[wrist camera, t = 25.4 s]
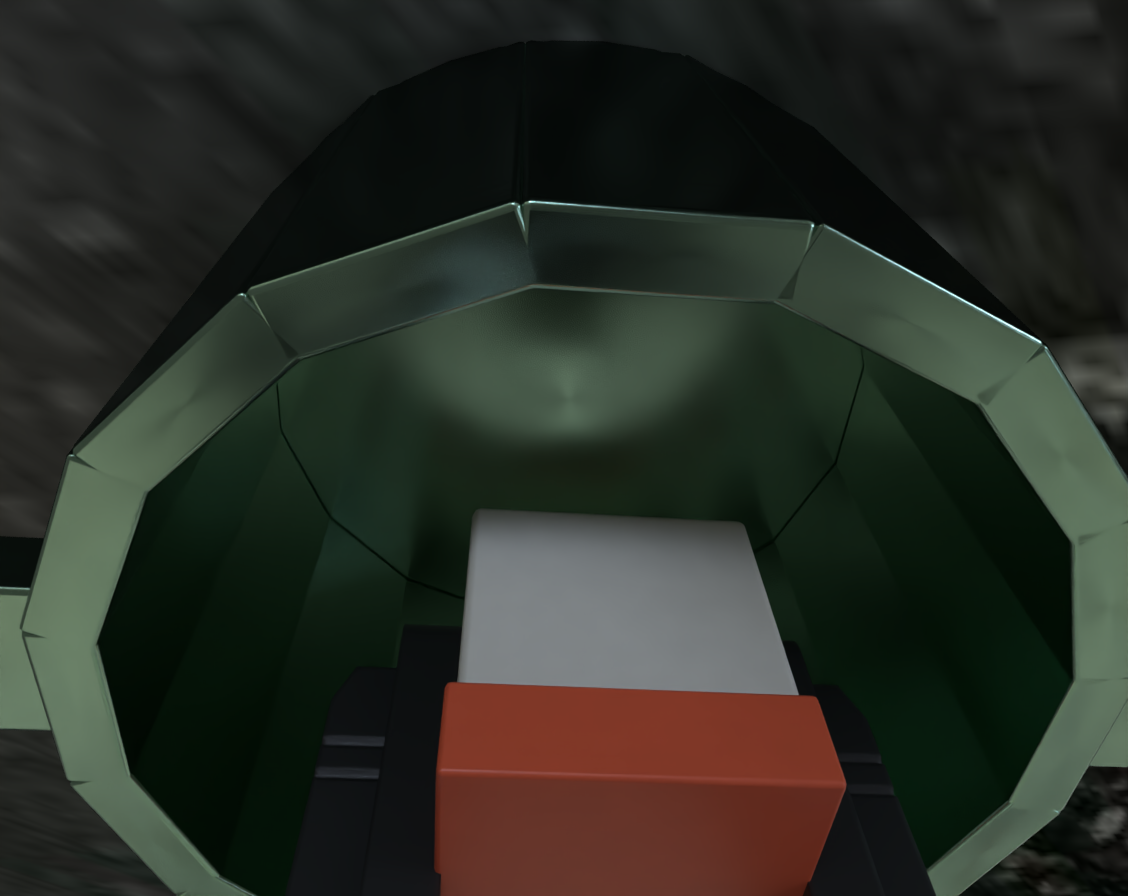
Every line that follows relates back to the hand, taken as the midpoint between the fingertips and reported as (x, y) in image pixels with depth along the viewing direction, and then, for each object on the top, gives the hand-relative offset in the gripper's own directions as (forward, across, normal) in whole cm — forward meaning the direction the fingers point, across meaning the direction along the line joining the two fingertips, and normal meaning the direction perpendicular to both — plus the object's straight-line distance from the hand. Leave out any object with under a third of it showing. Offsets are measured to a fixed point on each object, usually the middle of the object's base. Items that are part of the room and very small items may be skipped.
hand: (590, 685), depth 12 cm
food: (0, 0, 0) cm, 0 cm away
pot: (+8, 0, 0) cm, 8 cm away
